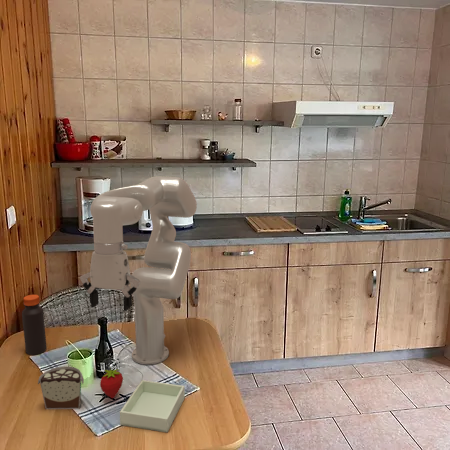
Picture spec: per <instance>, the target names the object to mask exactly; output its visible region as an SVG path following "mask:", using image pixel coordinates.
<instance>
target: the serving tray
mask: <svg viewBox="0 0 450 450" xmlns="http://www.w3.org/2000/svg"><path fill="white" fill-rule="evenodd" d="M185 388H186V387H185V385H180V384H174V383H173V384H172V383H165V382H160V381H153V380H144V379H141V381H140V382H139V384H138V385H137V386H136V388H135V390H134V391H133V392H132V394H131V395H130V397H129V398H128V399H127V401H126V402H125V404H124V405H123V406H122V408H121V410H119V425H120V426H122V427H123V426H125V427H131V428H137V429H142V430H149V431H154V432H161V433H168V432H169V431H170V429H171V426H172V424H173V422H174V420H175V418H176V416H177V415H178V413H179V411H180V408H181V406H182V404H183V402H184V400H185V395H186V394H185V393H186V392H185V391H186V390H185Z"/></svg>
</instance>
